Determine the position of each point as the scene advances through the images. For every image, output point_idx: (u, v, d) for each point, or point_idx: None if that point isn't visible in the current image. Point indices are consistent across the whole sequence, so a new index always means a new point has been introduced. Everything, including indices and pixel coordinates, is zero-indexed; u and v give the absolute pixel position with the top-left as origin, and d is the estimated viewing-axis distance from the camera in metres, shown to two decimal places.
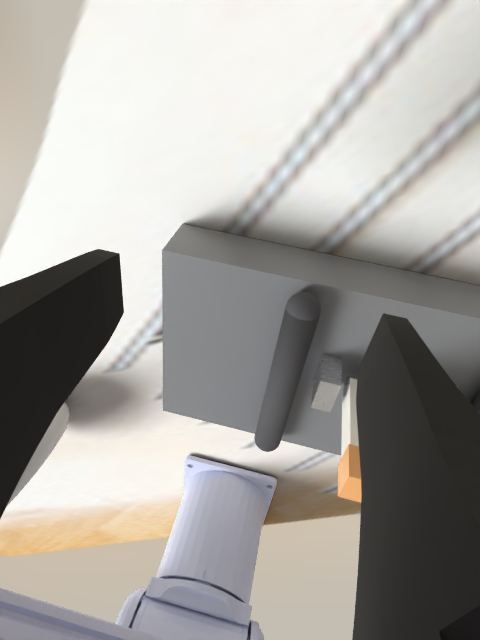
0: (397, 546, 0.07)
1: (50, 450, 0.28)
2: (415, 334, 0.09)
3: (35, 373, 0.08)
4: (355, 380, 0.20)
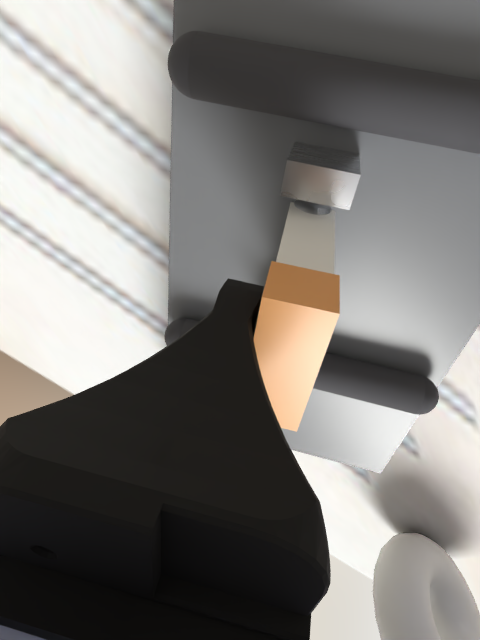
0: None
1: (415, 594, 0.24)
2: (243, 295, 0.09)
3: None
4: None
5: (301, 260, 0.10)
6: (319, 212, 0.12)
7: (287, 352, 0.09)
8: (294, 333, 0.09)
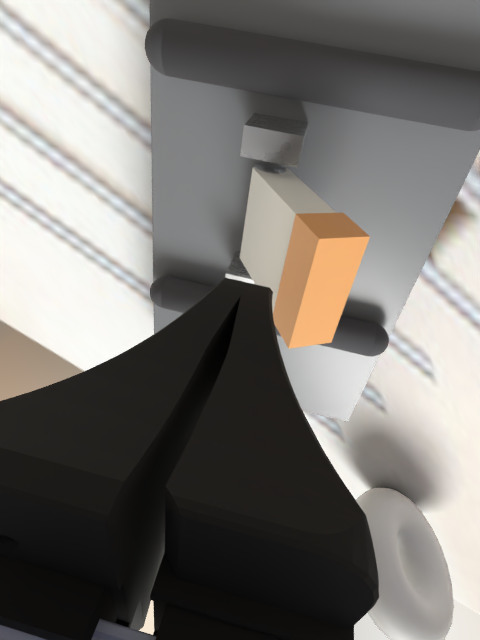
0: None
1: (382, 535, 0.26)
2: (265, 300, 0.09)
3: (196, 414, 0.08)
4: (240, 253, 0.17)
5: (309, 209, 0.12)
6: (279, 171, 0.15)
7: (331, 278, 0.12)
8: (338, 261, 0.11)
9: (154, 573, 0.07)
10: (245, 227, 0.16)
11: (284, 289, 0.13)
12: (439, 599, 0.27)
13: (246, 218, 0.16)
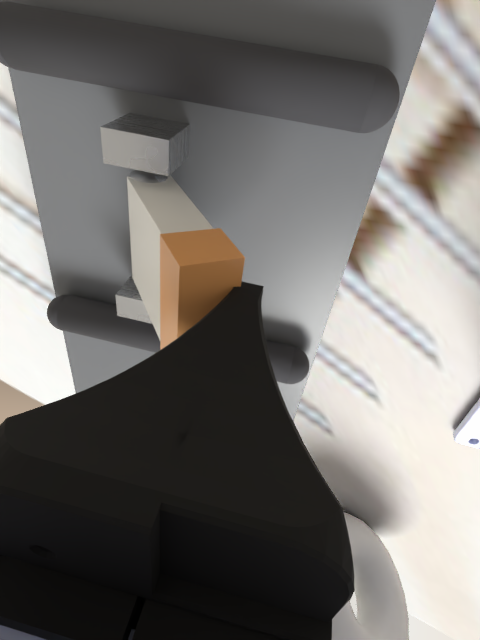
0: None
1: None
2: (254, 297, 0.09)
3: None
4: (132, 273, 0.15)
5: (181, 226, 0.10)
6: (158, 179, 0.13)
7: (209, 307, 0.10)
8: (212, 288, 0.10)
9: None
10: (131, 244, 0.14)
11: (164, 320, 0.11)
12: (391, 636, 0.25)
13: (130, 234, 0.14)
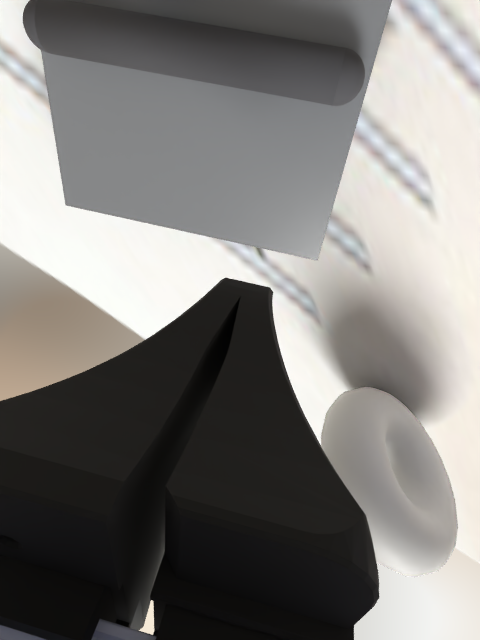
0: None
1: (366, 427, 0.20)
2: (264, 300, 0.09)
3: (196, 414, 0.08)
4: None
5: None
6: None
7: None
8: None
9: (154, 573, 0.07)
10: None
11: None
12: (439, 513, 0.21)
13: None
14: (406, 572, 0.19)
